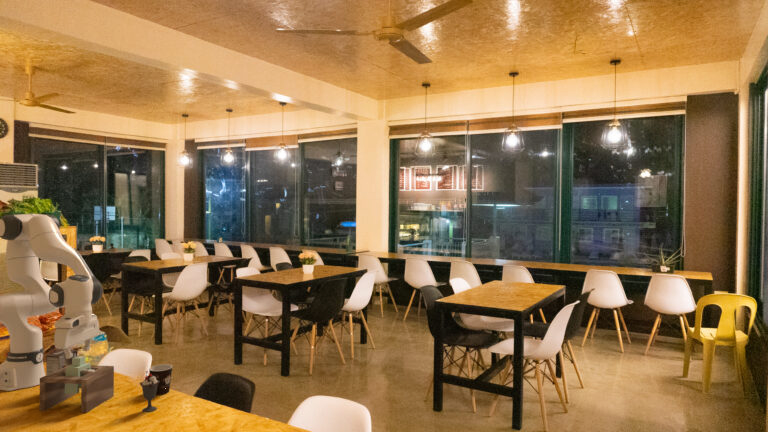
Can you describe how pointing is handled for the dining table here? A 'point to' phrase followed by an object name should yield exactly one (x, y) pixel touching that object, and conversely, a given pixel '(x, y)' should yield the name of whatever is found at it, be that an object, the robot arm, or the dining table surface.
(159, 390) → the coffee mug
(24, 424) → the dining table surface
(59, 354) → the coffee box
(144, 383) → the sundae
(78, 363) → the green u-channel bracket
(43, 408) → the wooden frame with rod
